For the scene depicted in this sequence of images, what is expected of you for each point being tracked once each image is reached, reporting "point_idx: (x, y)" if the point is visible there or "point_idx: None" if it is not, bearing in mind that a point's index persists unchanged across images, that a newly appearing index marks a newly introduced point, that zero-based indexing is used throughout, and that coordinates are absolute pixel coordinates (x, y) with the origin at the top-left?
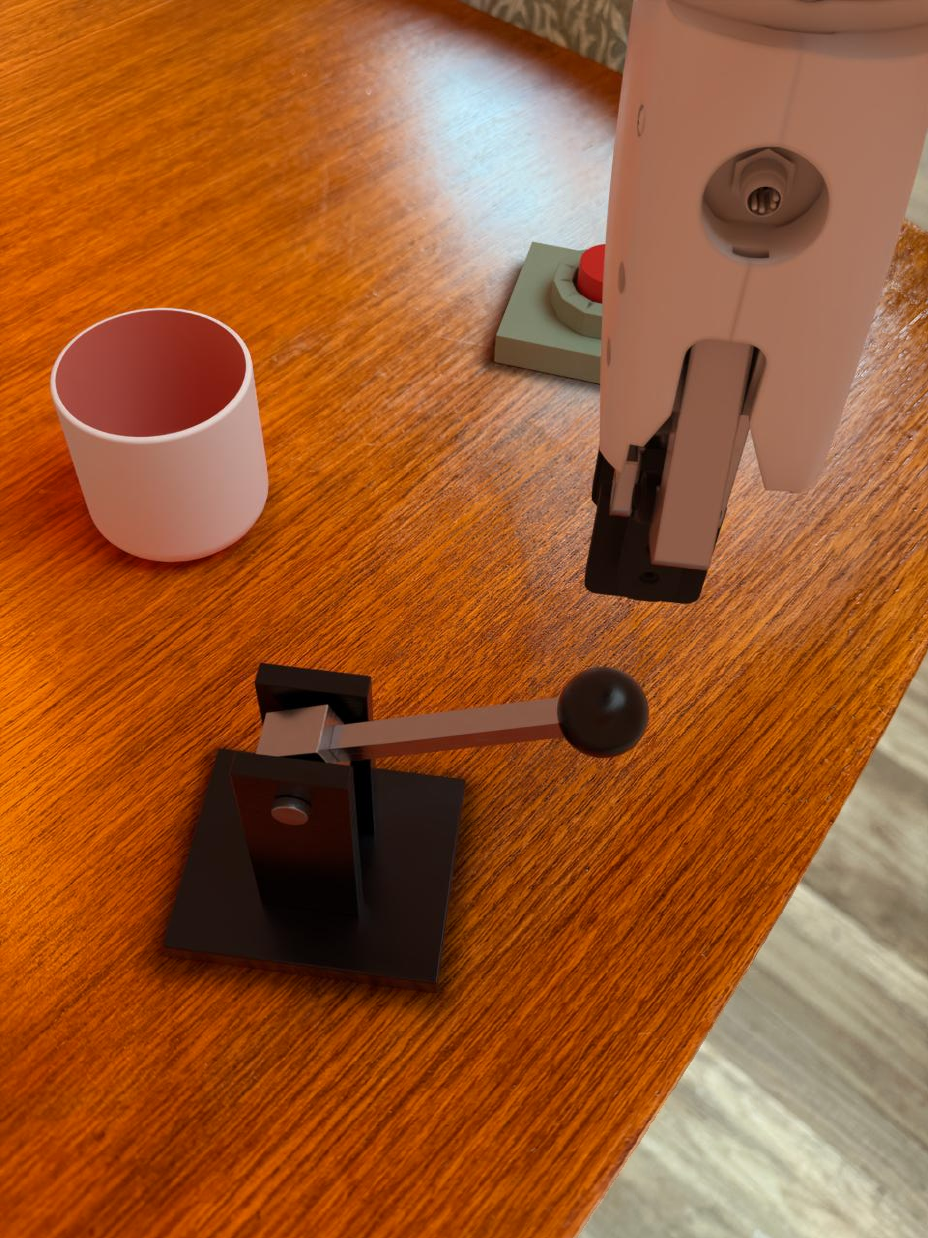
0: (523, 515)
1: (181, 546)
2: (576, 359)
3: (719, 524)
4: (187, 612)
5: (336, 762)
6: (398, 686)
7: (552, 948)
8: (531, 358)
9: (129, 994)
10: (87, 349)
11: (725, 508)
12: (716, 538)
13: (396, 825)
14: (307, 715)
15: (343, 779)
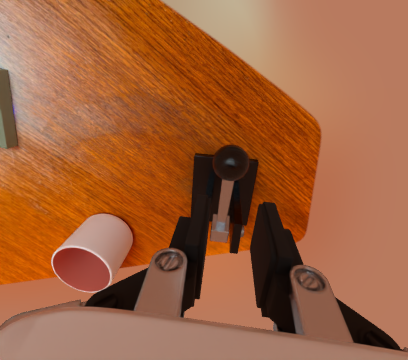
0: (86, 134)
1: (129, 235)
2: (5, 116)
3: (326, 279)
4: (146, 227)
5: (226, 222)
6: (161, 172)
7: (245, 127)
8: (11, 133)
9: None
10: (76, 282)
11: (332, 293)
12: (286, 237)
13: (211, 174)
14: (214, 234)
15: (239, 226)
